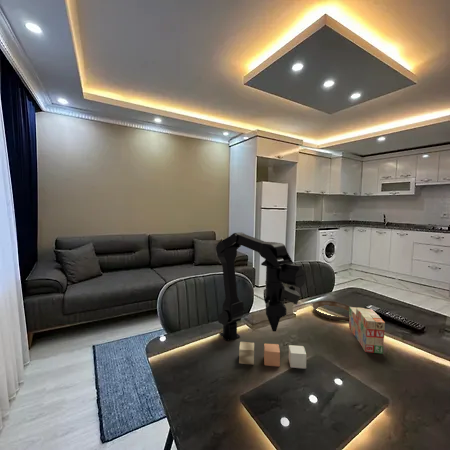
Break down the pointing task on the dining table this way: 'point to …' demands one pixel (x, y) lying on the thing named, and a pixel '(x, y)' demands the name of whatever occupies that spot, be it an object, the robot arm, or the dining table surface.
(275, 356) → the terracotta cube
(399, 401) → the dining table surface
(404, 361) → the dining table surface
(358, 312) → the stack of blocks
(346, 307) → the plant saucer
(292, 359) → the off-white cube
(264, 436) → the dining table surface
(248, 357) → the birch cube
